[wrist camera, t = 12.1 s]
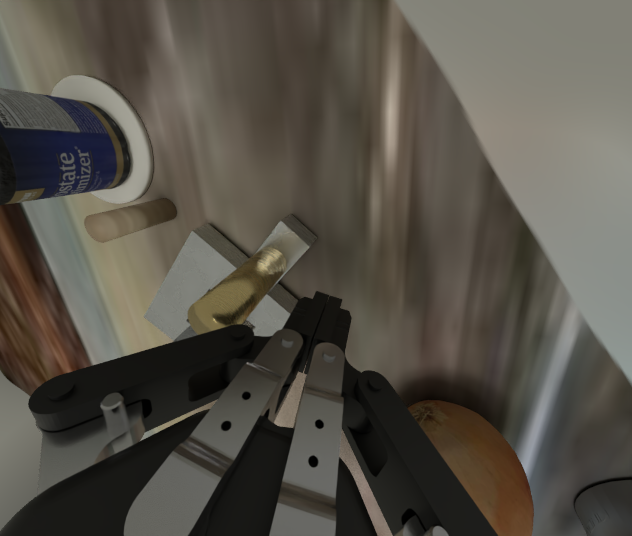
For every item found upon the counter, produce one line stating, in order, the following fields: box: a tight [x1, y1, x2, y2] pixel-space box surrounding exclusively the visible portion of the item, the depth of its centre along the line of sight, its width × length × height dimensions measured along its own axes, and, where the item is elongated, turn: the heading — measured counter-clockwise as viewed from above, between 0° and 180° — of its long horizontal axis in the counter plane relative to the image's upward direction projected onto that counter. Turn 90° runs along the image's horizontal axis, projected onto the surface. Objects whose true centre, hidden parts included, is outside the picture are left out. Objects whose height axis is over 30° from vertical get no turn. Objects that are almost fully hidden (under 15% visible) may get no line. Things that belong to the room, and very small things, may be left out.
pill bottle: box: [0, 88, 131, 205], centre depth 15 cm, size 6×6×11 cm
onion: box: [408, 400, 534, 536], centre depth 19 cm, size 10×10×10 cm
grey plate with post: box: [144, 214, 317, 340], centre depth 19 cm, size 18×12×9 cm
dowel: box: [84, 198, 176, 243], centre depth 19 cm, size 2×2×6 cm
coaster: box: [51, 75, 154, 203], centre depth 20 cm, size 9×9×1 cm
